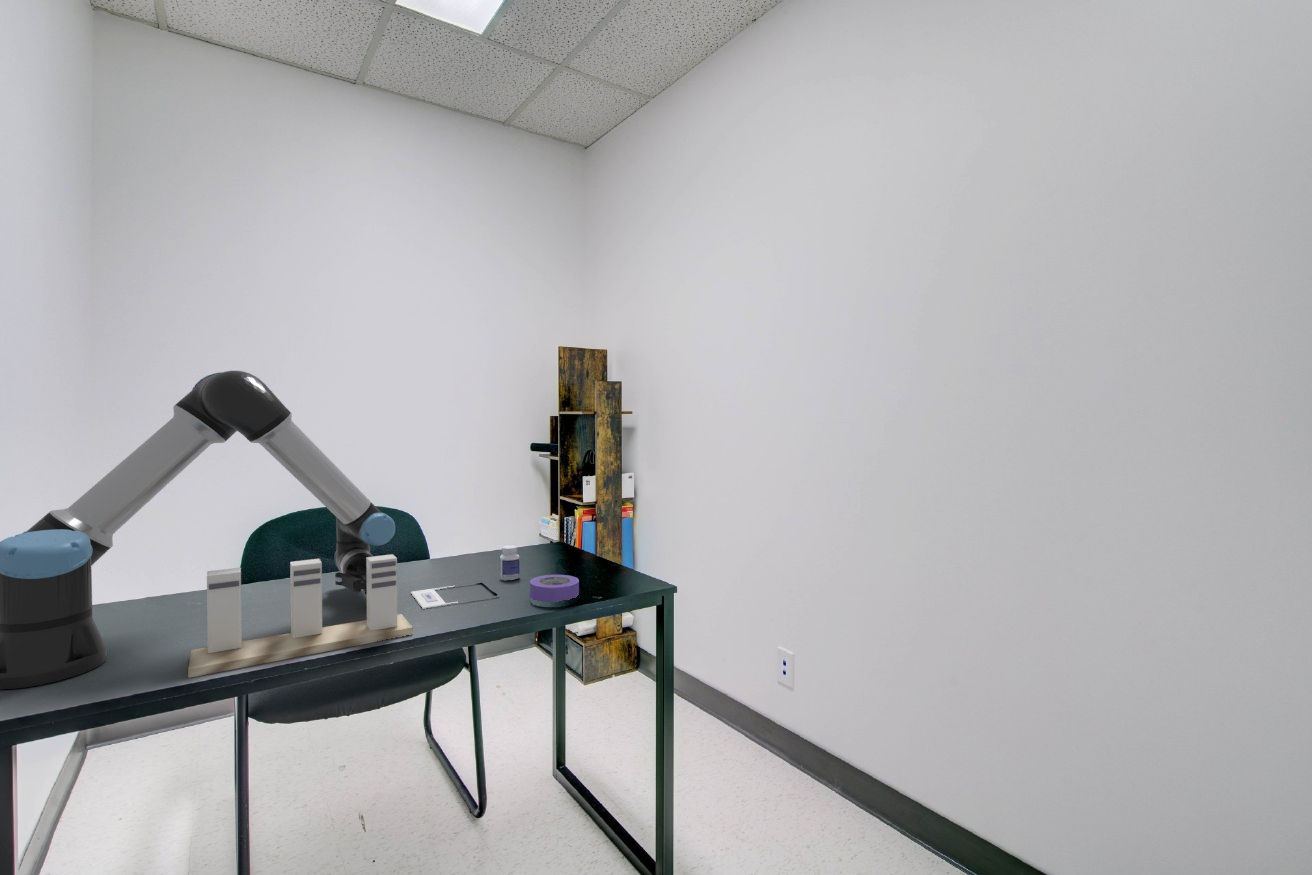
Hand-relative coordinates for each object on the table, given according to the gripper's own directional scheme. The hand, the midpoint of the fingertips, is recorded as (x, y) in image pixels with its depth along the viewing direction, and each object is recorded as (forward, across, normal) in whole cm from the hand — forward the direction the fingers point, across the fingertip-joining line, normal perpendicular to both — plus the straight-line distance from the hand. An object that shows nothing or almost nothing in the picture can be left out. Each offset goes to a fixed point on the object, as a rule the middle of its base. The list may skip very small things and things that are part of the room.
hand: (380, 592), depth 124 cm
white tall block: (-2, +13, -6) cm, 15 cm away
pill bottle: (-22, -37, -8) cm, 44 cm away
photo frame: (-15, -20, -9) cm, 27 cm away
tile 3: (+2, 0, -6) cm, 7 cm away
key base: (+1, +13, -8) cm, 16 cm away
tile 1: (-2, +26, -6) cm, 27 cm away
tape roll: (+1, -39, -8) cm, 40 cm away
